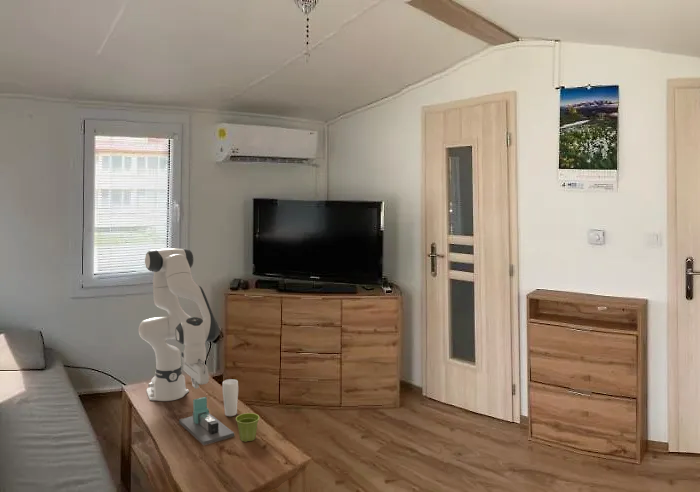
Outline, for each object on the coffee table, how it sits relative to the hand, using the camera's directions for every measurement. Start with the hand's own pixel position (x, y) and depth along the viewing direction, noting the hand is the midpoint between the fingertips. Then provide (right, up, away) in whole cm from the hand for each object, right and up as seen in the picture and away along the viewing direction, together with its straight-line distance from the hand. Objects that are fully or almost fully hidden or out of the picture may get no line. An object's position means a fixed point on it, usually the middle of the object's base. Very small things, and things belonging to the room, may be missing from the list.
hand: (195, 387), depth 232 cm
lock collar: (+3, -13, -3) cm, 14 cm away
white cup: (+13, -15, +9) cm, 22 cm away
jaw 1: (+6, -14, -8) cm, 17 cm away
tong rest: (+7, -16, -7) cm, 19 cm away
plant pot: (+25, -17, -15) cm, 34 cm away
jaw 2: (+7, -14, -7) cm, 17 cm away
